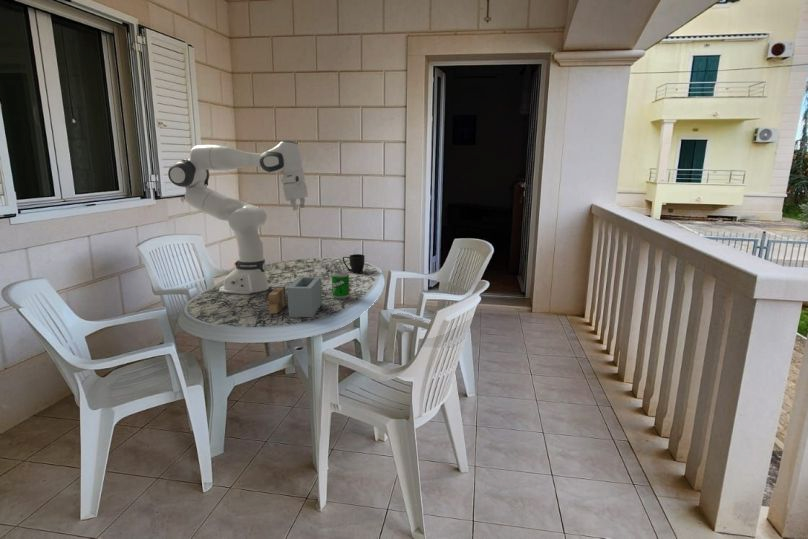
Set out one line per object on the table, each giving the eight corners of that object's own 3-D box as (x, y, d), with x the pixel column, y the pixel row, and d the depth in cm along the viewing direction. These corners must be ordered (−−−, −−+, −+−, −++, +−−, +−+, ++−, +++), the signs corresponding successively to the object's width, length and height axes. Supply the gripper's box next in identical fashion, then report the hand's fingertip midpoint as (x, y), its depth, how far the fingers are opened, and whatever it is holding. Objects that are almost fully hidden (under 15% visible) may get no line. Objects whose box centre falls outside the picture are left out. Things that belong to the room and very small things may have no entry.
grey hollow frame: (289, 317, 175) (287, 288, 173) (300, 303, 193) (299, 276, 190) (312, 318, 175) (310, 288, 172) (321, 304, 193) (320, 276, 190)
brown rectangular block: (277, 314, 180) (276, 294, 178) (269, 313, 180) (268, 294, 178) (286, 304, 191) (284, 286, 189) (278, 304, 191) (277, 286, 189)
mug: (344, 270, 253) (343, 254, 251) (365, 270, 253) (365, 254, 251) (341, 274, 245) (341, 257, 243) (363, 274, 245) (363, 257, 243)
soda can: (341, 294, 207) (340, 268, 205) (352, 297, 203) (352, 271, 200) (328, 297, 202) (328, 271, 199) (340, 301, 197) (339, 274, 194)
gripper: (295, 177, 212) (300, 207, 215) (279, 179, 192) (284, 212, 195) (308, 176, 211) (312, 205, 214) (293, 178, 191) (298, 210, 194)
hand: (299, 208), depth 205 cm, fingers open, 8 cm apart
